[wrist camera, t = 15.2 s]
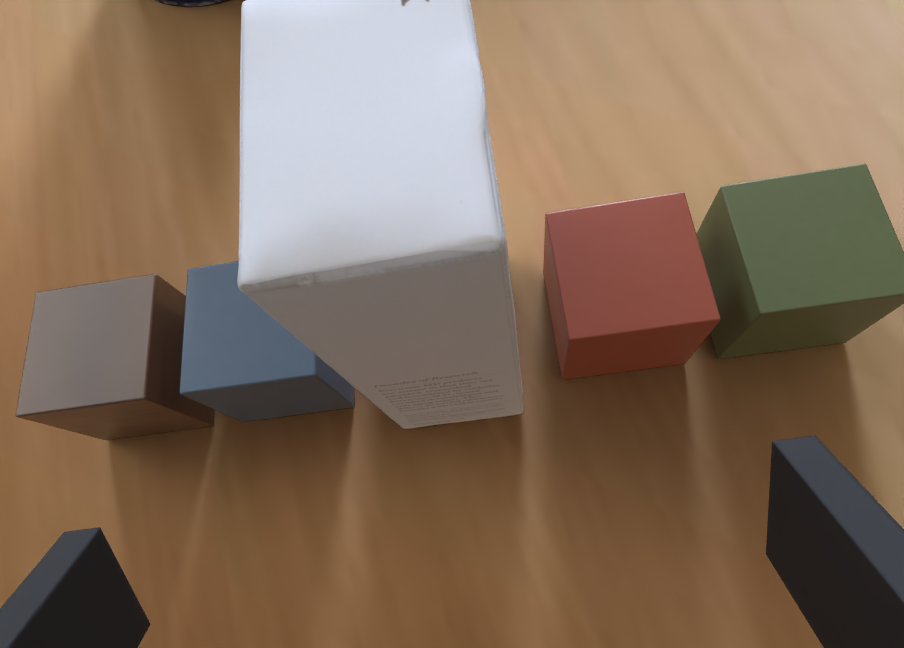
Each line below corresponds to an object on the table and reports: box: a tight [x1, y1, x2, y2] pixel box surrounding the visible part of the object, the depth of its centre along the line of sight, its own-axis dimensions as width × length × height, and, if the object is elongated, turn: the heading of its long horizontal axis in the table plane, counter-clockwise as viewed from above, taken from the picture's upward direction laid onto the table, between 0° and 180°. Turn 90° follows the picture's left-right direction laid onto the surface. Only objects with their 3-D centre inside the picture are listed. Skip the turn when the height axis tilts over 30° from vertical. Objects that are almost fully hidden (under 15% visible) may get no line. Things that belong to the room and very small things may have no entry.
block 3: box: [543, 192, 720, 380], centre depth 18 cm, size 4×4×4 cm
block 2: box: [180, 261, 355, 422], centre depth 19 cm, size 4×4×4 cm
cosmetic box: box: [237, 0, 524, 429], centre depth 15 cm, size 6×4×12 cm
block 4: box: [696, 164, 904, 359], centre depth 18 cm, size 4×4×4 cm
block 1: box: [16, 274, 214, 440], centre depth 20 cm, size 4×4×4 cm
